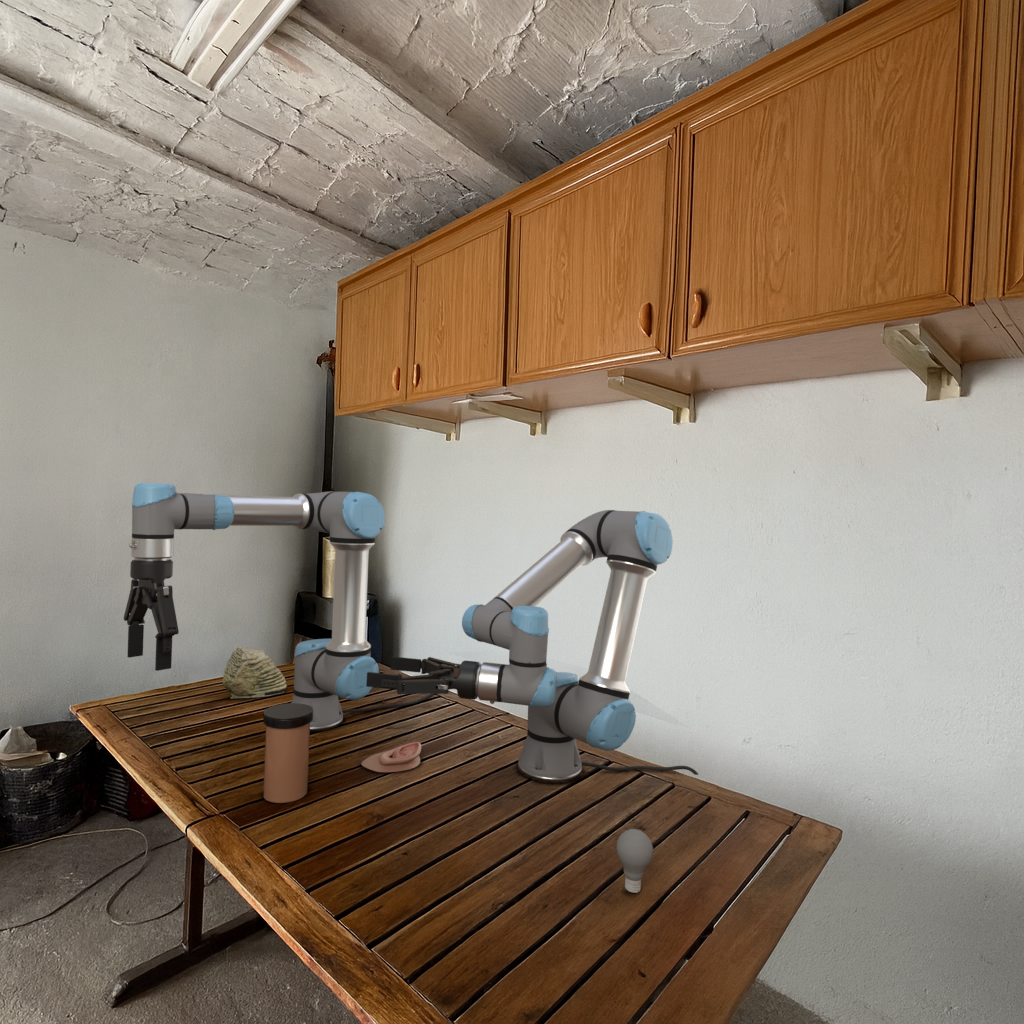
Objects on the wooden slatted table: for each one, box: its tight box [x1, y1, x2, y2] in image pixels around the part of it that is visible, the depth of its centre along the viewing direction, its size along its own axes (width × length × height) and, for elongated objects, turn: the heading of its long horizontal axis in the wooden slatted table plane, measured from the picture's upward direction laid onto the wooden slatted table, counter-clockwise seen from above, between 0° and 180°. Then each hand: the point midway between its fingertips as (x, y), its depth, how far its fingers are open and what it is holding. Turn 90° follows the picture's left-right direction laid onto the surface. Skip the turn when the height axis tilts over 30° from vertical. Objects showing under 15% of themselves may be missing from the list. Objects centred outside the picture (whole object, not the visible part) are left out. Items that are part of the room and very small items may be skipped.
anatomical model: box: [360, 741, 422, 773], centre depth 152 cm, size 13×4×12 cm
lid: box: [262, 702, 313, 729], centre depth 134 cm, size 10×10×2 cm
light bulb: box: [615, 828, 654, 894], centre depth 106 cm, size 6×6×10 cm
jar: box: [262, 723, 311, 804], centre depth 135 cm, size 9×9×17 cm
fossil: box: [222, 646, 288, 699], centre depth 198 cm, size 9×18×15 cm, turn 132°
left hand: (148, 662), depth 129 cm, fingers open, 13 cm apart
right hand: (380, 670), depth 132 cm, fingers open, 13 cm apart
